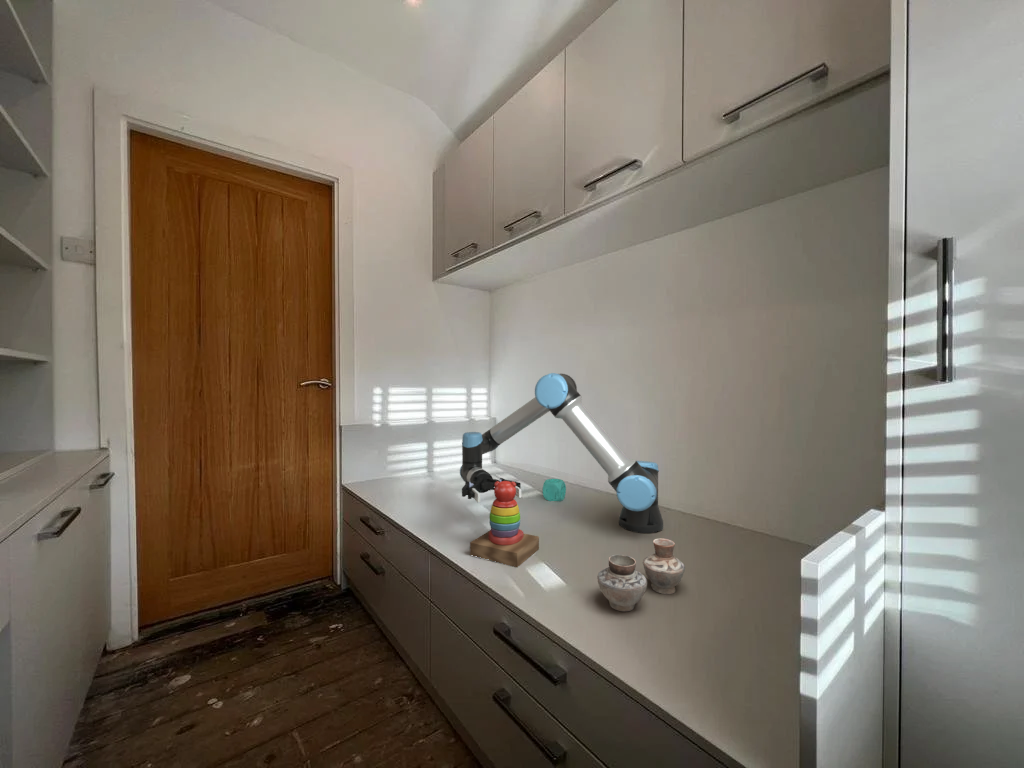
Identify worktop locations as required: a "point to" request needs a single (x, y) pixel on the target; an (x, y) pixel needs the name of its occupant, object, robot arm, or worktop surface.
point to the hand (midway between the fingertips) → (500, 495)
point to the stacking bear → (505, 515)
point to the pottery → (640, 576)
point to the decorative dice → (554, 490)
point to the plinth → (505, 549)
